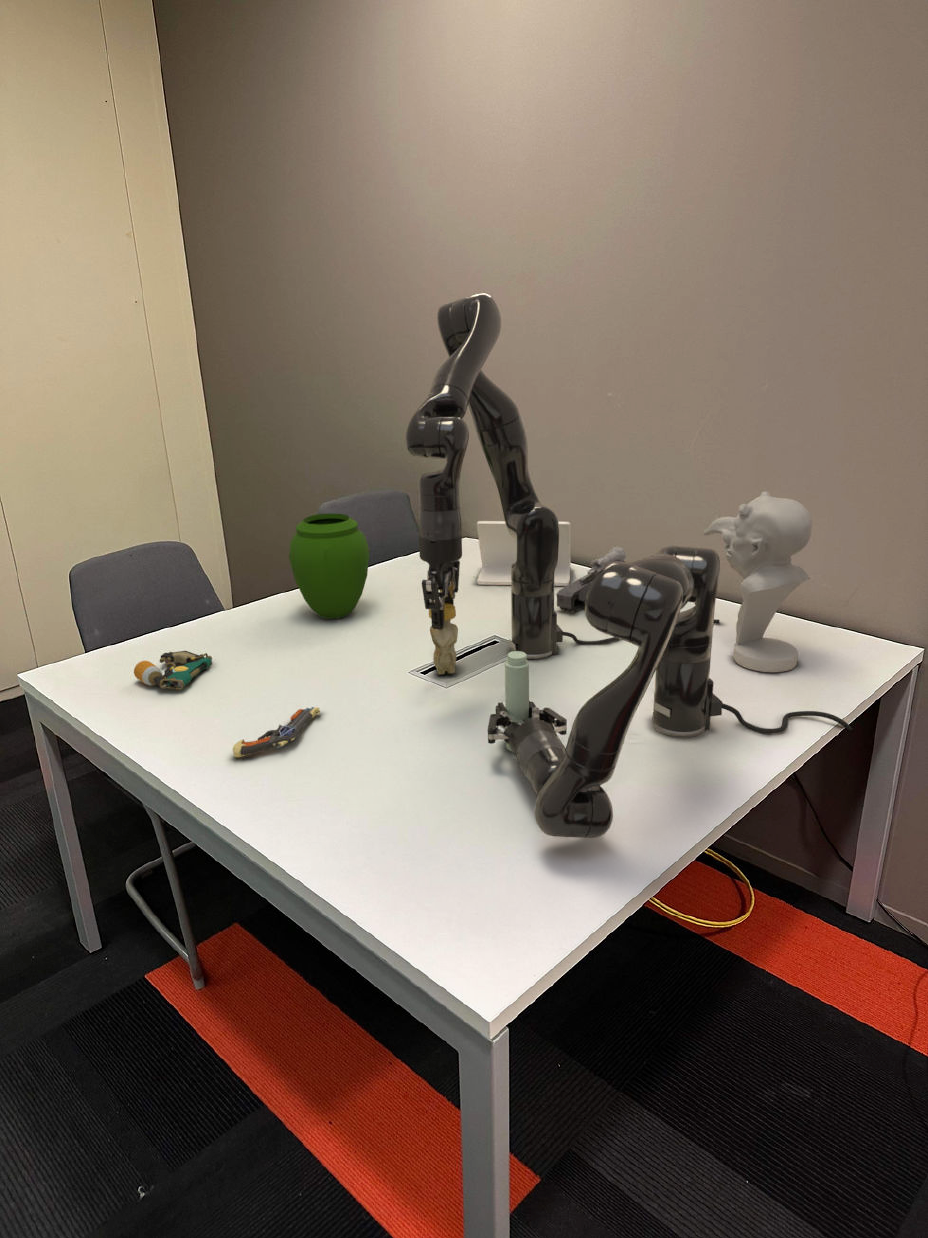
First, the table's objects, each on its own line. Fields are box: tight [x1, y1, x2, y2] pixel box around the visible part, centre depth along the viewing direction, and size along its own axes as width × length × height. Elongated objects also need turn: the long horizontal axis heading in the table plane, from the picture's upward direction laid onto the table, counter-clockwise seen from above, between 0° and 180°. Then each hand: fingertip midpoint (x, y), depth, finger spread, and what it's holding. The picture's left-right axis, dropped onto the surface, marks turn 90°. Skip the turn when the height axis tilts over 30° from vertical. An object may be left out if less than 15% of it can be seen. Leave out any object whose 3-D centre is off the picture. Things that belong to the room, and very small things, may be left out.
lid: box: [428, 603, 457, 621], centre depth 154 cm, size 5×5×2 cm
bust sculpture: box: [702, 491, 813, 673], centre depth 177 cm, size 16×24×35 cm, turn 28°
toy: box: [556, 546, 627, 613], centre depth 212 cm, size 25×20×15 cm
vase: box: [288, 512, 370, 620], centre depth 209 cm, size 20×20×24 cm
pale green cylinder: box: [504, 651, 530, 753], centre depth 145 cm, size 4×4×17 cm
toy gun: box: [232, 706, 321, 758], centre depth 154 cm, size 3×19×10 cm
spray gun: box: [133, 650, 213, 690], centre depth 180 cm, size 4×17×15 cm
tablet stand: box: [476, 520, 572, 587], centre depth 236 cm, size 18×25×17 cm
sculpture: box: [429, 600, 459, 675], centre depth 177 cm, size 6×7×15 cm
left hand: (443, 623), depth 155 cm, fingers closed on lid, 4 cm apart
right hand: (513, 705), depth 149 cm, fingers closed on pale green cylinder, 4 cm apart
